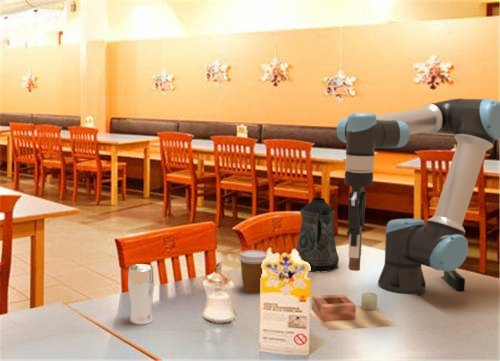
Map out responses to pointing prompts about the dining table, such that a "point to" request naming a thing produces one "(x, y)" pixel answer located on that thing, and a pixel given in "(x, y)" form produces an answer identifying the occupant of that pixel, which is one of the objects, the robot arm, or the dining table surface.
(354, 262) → the brown wooden cylinder
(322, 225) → the beer stein
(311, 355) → the dining table surface
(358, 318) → the board
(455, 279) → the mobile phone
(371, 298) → the loose bead
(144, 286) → the beer glass
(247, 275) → the disposable coffee cup
